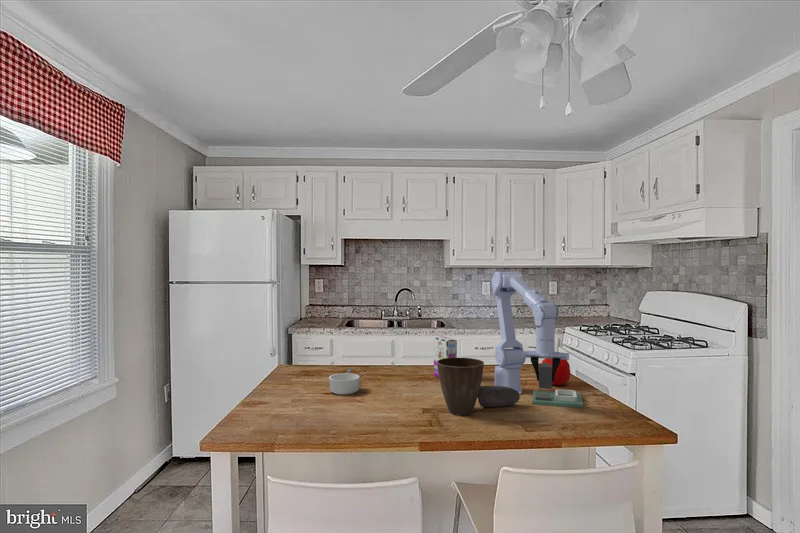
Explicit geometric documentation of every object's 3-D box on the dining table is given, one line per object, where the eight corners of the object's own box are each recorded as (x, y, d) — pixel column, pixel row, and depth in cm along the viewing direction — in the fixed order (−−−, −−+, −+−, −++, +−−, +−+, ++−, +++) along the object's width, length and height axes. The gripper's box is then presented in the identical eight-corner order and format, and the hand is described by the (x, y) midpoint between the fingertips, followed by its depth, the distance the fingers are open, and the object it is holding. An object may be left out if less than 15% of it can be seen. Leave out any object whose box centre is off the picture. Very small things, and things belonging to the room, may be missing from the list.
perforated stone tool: (517, 403, 163) (517, 382, 163) (522, 407, 158) (522, 386, 158) (473, 404, 162) (473, 384, 162) (478, 409, 156) (477, 388, 156)
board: (532, 404, 162) (532, 396, 162) (532, 393, 175) (532, 386, 175) (583, 408, 157) (583, 400, 157) (579, 396, 171) (579, 389, 170)
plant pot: (429, 407, 159) (429, 359, 158) (469, 402, 164) (469, 355, 164) (450, 421, 145) (449, 368, 144) (493, 415, 150) (492, 364, 150)
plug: (538, 388, 156) (538, 366, 156) (539, 383, 162) (539, 362, 162) (551, 389, 155) (551, 367, 155) (551, 383, 161) (551, 363, 161)
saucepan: (364, 382, 193) (364, 368, 192) (357, 396, 173) (357, 380, 172) (336, 382, 193) (336, 368, 193) (326, 396, 173) (325, 380, 173)
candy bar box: (457, 380, 194) (457, 339, 194) (446, 381, 192) (446, 340, 192) (443, 374, 204) (443, 335, 204) (433, 375, 202) (433, 336, 202)
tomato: (575, 388, 181) (575, 358, 181) (544, 388, 181) (544, 358, 181) (564, 380, 193) (564, 352, 193) (535, 380, 193) (535, 352, 193)
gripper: (521, 340, 156) (522, 382, 156) (569, 342, 152) (569, 385, 152) (522, 336, 163) (522, 376, 163) (568, 338, 158) (568, 379, 159)
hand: (545, 380), depth 158 cm, fingers closed on plug, 4 cm apart
